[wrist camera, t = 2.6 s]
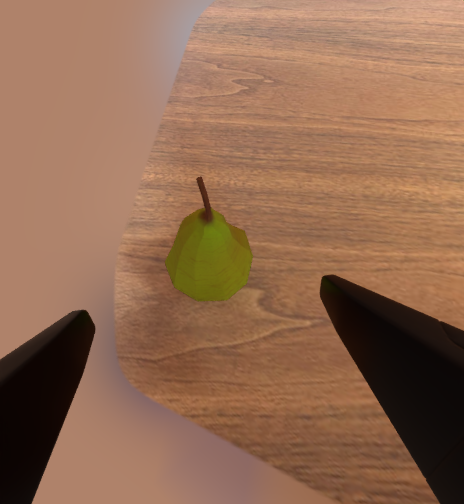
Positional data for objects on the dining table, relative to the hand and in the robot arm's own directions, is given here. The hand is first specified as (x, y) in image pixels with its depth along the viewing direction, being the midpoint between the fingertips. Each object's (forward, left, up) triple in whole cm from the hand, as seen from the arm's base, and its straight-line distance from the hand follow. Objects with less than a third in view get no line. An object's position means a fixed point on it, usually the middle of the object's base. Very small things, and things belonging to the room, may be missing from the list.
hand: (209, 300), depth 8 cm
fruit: (+3, +1, -11) cm, 11 cm away
